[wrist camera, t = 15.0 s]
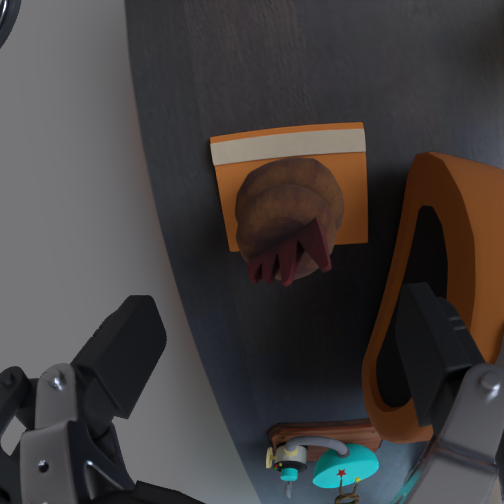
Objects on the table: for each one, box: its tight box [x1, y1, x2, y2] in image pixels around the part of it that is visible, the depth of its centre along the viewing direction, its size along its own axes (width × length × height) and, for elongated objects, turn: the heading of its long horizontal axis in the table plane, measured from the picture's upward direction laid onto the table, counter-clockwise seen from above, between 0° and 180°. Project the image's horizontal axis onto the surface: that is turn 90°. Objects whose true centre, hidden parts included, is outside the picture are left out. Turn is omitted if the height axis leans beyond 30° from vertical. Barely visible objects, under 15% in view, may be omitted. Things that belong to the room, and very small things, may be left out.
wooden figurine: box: [235, 157, 345, 287], centre depth 17 cm, size 7×6×15 cm
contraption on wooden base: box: [266, 419, 383, 504], centre depth 32 cm, size 14×18×15 cm
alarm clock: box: [361, 151, 504, 445], centre depth 18 cm, size 23×9×17 cm, turn 179°
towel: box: [210, 122, 368, 252], centre depth 23 cm, size 12×10×1 cm
